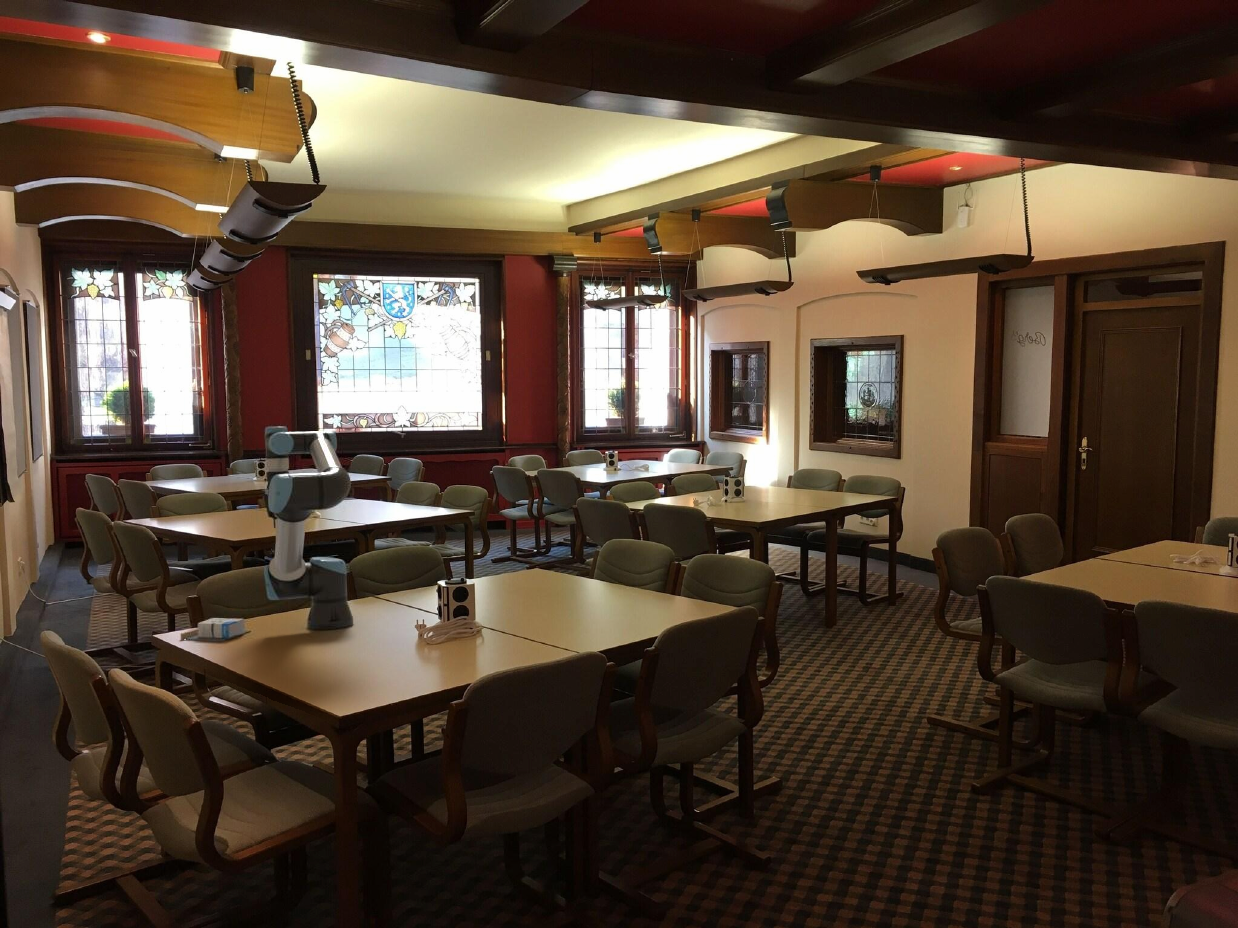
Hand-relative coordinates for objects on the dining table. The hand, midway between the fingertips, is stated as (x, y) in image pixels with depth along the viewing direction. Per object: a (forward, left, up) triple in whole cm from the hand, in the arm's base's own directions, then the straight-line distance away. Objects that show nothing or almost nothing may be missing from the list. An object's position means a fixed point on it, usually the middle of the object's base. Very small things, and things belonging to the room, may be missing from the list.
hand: (280, 537), depth 333 cm
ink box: (-2, +26, -27) cm, 37 cm away
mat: (+7, +26, -29) cm, 40 cm away
